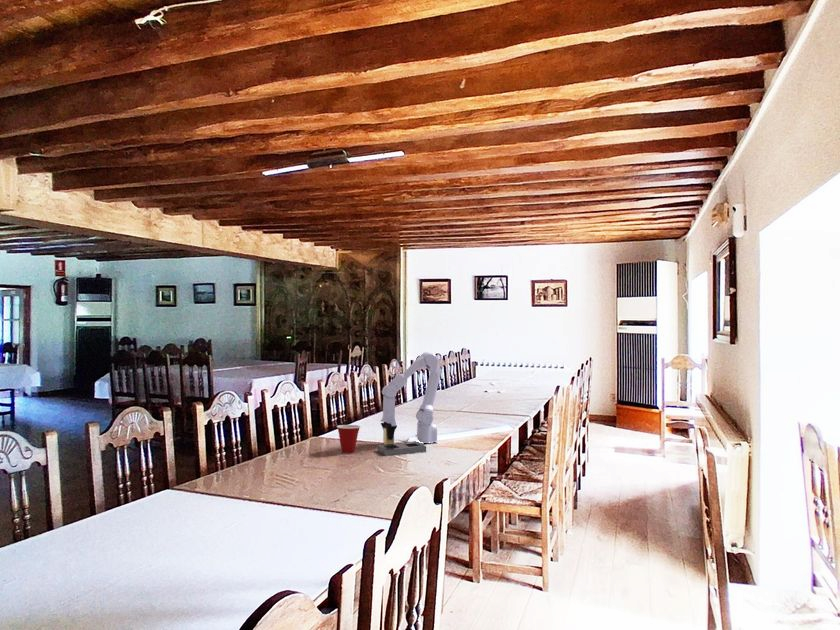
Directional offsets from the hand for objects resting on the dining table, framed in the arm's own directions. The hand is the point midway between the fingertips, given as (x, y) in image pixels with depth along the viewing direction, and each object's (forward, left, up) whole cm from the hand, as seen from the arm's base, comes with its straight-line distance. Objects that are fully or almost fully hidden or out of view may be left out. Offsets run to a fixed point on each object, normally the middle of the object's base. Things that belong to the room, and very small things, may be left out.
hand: (388, 438), depth 261 cm
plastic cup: (+22, +7, -3) cm, 23 cm away
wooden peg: (0, 0, -3) cm, 3 cm away
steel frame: (-1, +15, -3) cm, 15 cm away
